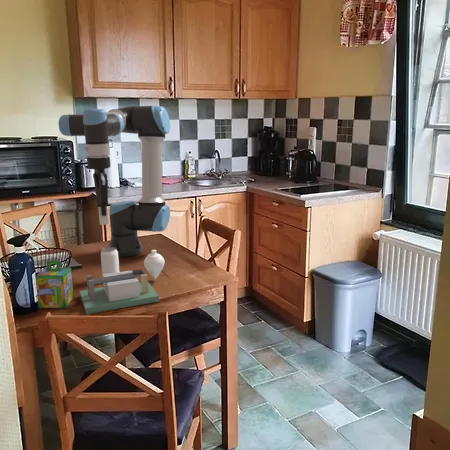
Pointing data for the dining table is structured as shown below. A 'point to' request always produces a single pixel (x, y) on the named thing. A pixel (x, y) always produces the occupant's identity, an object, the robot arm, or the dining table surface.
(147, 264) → the spinning top
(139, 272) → the strap
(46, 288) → the chalk box
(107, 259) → the can
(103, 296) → the heatsink board
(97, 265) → the dining table surface
